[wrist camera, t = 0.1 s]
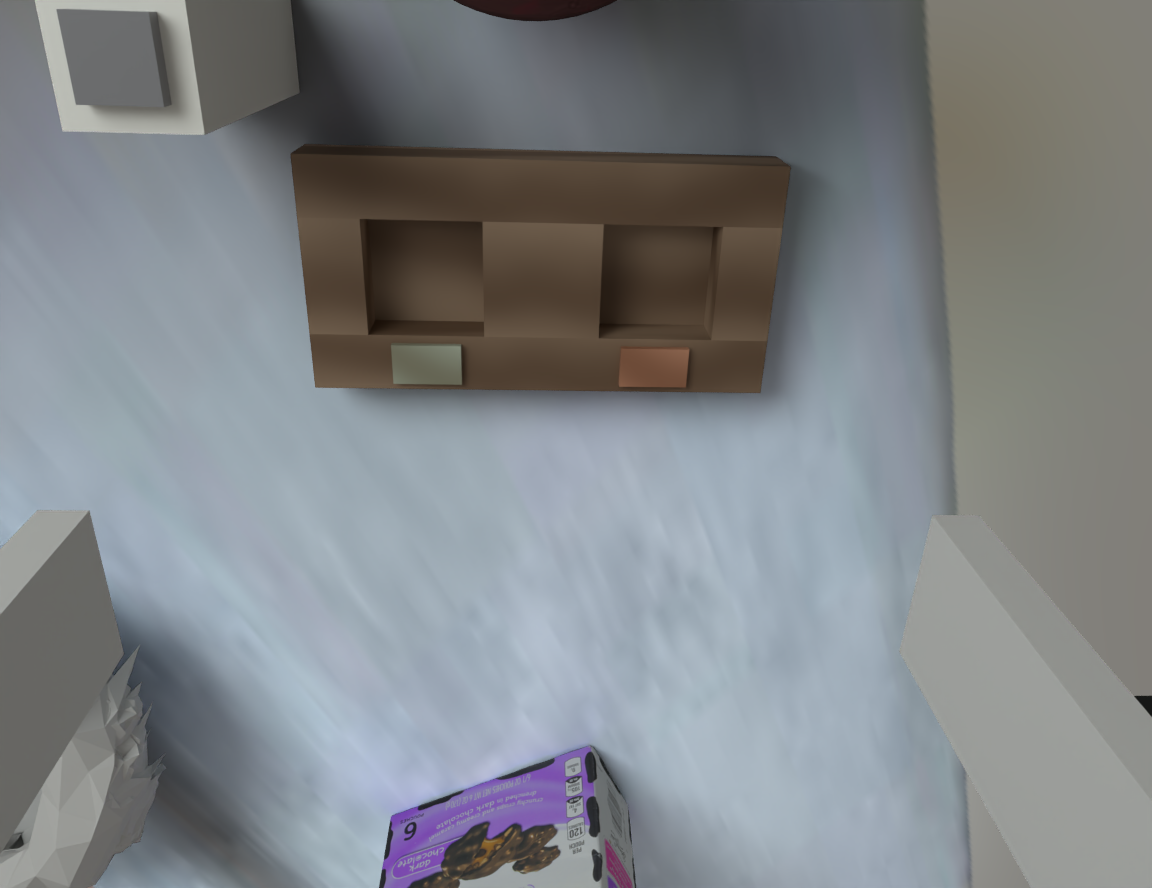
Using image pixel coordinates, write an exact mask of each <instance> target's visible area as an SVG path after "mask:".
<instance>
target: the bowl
mask: <svg viewBox="0 0 1152 888" xmlns="http://www.w3.org/2000/svg"><path fill="white" fill-rule="evenodd" d="M139 647H140V645H139V646H138V647H137V649H136V650H135V651H134V652H133V653H132V655H131V656H130V657H129V658H128V660H127V661H126V662H125V663H124V664H123V666H122V667H121V668H120V669H119V670H118V672H117V673H116V674H115V675H113V674H111V676H110V677H109V679H108V681H107V682H106V684H105V685H104V687H103V689H102V690H101V692H100V694H99V695H98V697H97V698H96V700H95V702H94V703H93V705H92V707H91V708H90V710H89V711H88V713H87V715H86V716H85V718H84V719H83V721H82V723H81V724H80V726H79V728H78V729H77V731H76V732H75V734H74V736H73V737H72V739H71V741H70V742H69V744H68V745H67V747H66V749H65V750H64V752H63V753H62V755H61V757H60V758H59V760H58V762H57V763H56V765H55V766H54V768H53V770H52V771H51V773H50V775H49V776H48V778H47V779H46V781H45V783H44V784H43V786H42V787H41V789H40V791H39V792H38V794H37V796H36V797H35V799H34V800H33V802H32V804H31V805H30V807H29V809H28V810H27V812H26V813H25V815H24V817H23V818H22V820H21V821H20V823H19V825H18V826H17V828H16V830H15V831H14V833H13V834H12V836H11V838H10V839H9V841H8V843H7V844H6V846H5V847H4V849H3V851H2V852H1V854H0V888H87V887H90V886H93V885H95V884H96V883H97V881H98V880H99V878H100V877H101V876H102V874H103V873H104V871H105V870H106V868H107V867H108V865H109V863H110V861H111V859H112V858H113V856H114V854H117V853H121V852H123V851H124V850H125V849H126V848H128V847H129V846H131V844H133V843H136V842H140V840H141V837H142V833H143V829H144V823H145V818H146V815H147V813H148V811H149V809H150V807H151V805H152V803H153V801H154V799H155V796H156V789H157V787H158V785H159V782H158V778H159V776H160V775H161V773H162V771H164V770H165V769H166V767H165V766H164V765H163V764H162V763H161V764H160V765H159V763H160V762H161V760H162V758H163V757H164V755H165V754H163V755H162V756H161V757H160V758H159V759H158V760H157V761H156V762H155V763H154V764H152V765H149V766H148V754H147V737H148V735H149V732H150V730H151V729H150V730H149V732H148V734H146V729H145V724H146V721H147V718H148V715H149V712H150V709H151V706H152V704H151V705H150V707H149V709H148V711H147V712H146V714H145V715H144V716H143V718H142V719H140V718H141V716H142V715H143V713H142V708H143V703H142V701H141V700H140V698H139V696H138V694H139V690H140V687H141V683H142V682H141V683H140V684H139V685H138V686H136V687H135V688H134V689H133V690H132V691H131V688H130V687H129V686H128V685H127V682H128V679H129V677H130V675H131V672H132V670H133V668H134V667H133V664H134V661H135V658H136V655H137V653H138V650H139ZM132 667H133V668H132ZM130 691H131V692H130ZM152 703H153V702H152ZM158 765H159V766H158ZM151 777H152V780H151ZM150 780H151V781H150Z"/></svg>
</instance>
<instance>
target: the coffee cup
mask: <svg viewBox="0 0 1152 888" xmlns="http://www.w3.org/2000/svg"><path fill="white" fill-rule="evenodd" d="M454 1H456V2H458V3H460V4H462V5H464V6H467V7H469V8H471V9H474V10H476V11H479V12H482V13H486V14H489V15H492V16H497V17H501V18H506V19H513V20H521V21H548V20H559V19H564V18H570V17H575V16H579V15H582V14H585V13H588V12H592V11H595V10H597V9H600V8H602V7H604V6H607V5H609V4H611V3H613V2H615V1H617V0H454Z"/></svg>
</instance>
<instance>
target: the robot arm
mask: <svg viewBox="0 0 1152 888" xmlns="http://www.w3.org/2000/svg"><path fill="white" fill-rule="evenodd" d="M899 652H900V654H901V656H902V657H903V659H904V661H905V663H906V665H907V666H908V668H909V670H910V672H911V673H912V675H913V677H914V679H915V681H916V682H917V684H918V686H919V688H920V690H921V691H922V693H923V695H924V697H925V699H926V700H927V702H928V704H929V706H930V708H931V709H932V711H933V713H934V715H935V717H936V718H937V720H938V722H939V724H940V726H941V727H942V729H943V731H944V733H945V734H946V736H947V738H948V740H949V742H950V743H951V745H952V747H953V749H954V751H955V752H956V754H957V756H958V758H959V760H960V761H961V763H962V765H963V767H964V769H965V770H966V772H967V774H968V776H969V778H970V779H971V781H972V783H973V785H974V786H975V788H976V790H977V792H978V794H979V795H980V797H981V799H982V801H983V803H984V804H985V806H986V808H987V810H988V812H989V813H990V815H991V817H992V819H993V820H994V822H995V824H996V826H997V828H998V829H999V831H1000V833H1001V835H1002V837H1003V838H1004V840H1005V842H1006V844H1007V846H1008V847H1009V849H1010V851H1011V853H1012V854H1013V857H1014V858H1015V860H1016V862H1017V863H1018V865H1019V867H1020V869H1021V871H1022V873H1023V874H1024V876H1025V878H1026V880H1027V882H1028V883H1029V885H1030V887H1031V888H1152V696H1133V695H1132V693H1131V692H1130V691H1129V690H1128V689H1127V688H1126V686H1125V685H1124V684H1123V683H1122V682H1121V681H1120V679H1119V678H1118V677H1117V676H1116V675H1115V674H1114V672H1113V671H1112V670H1111V669H1110V668H1109V667H1108V665H1107V664H1106V663H1105V662H1104V661H1103V660H1102V658H1101V657H1100V656H1099V655H1098V654H1097V653H1096V651H1095V650H1094V649H1093V648H1092V647H1091V646H1090V644H1089V643H1088V642H1087V641H1086V640H1085V639H1084V637H1083V636H1082V635H1081V634H1080V633H1079V632H1078V630H1077V629H1076V628H1075V627H1074V626H1073V624H1072V623H1071V622H1070V621H1069V620H1068V619H1067V617H1066V616H1065V615H1064V614H1063V613H1062V612H1061V610H1060V609H1059V608H1058V607H1057V606H1056V605H1055V603H1054V602H1053V601H1052V600H1051V599H1050V598H1049V597H1048V595H1047V594H1046V593H1045V592H1044V591H1043V589H1042V588H1041V587H1040V586H1039V585H1038V584H1037V582H1036V581H1035V580H1034V579H1033V578H1032V577H1031V575H1030V574H1029V573H1028V572H1027V571H1026V570H1025V568H1024V567H1023V566H1022V565H1021V564H1020V563H1019V562H1018V560H1017V559H1016V558H1015V557H1014V556H1013V554H1012V553H1011V552H1010V551H1009V550H1008V549H1007V547H1006V546H1005V545H1004V544H1003V543H1002V541H1001V540H1000V539H999V538H998V537H997V536H996V535H995V533H994V532H993V531H992V530H991V529H990V528H989V526H988V525H987V524H986V523H985V522H984V520H983V519H982V518H981V517H980V516H979V515H932V519H931V523H930V528H929V532H928V536H927V540H926V544H925V548H924V552H923V556H922V560H921V565H920V569H919V573H918V577H917V581H916V585H915V589H914V593H913V597H912V601H911V606H910V610H909V614H908V618H907V622H906V626H905V630H904V634H903V638H902V643H901V647H900V651H899ZM123 655H124V652H123V647H122V643H121V639H120V635H119V631H118V627H117V623H116V619H115V615H114V610H113V606H112V602H111V598H110V594H109V590H108V586H107V582H106V578H105V573H104V569H103V565H102V561H101V557H100V553H99V549H98V545H97V540H96V536H95V532H94V528H93V524H92V520H91V516H90V512H89V511H62V510H37V511H36V512H35V513H34V514H33V515H32V517H31V518H30V519H29V520H28V521H27V522H26V523H25V524H24V525H23V526H22V527H21V528H20V529H19V530H18V531H17V532H16V533H15V534H14V535H13V536H12V537H11V538H10V540H9V541H8V542H7V543H6V544H5V545H4V546H3V547H2V548H1V549H0V854H1V852H2V851H3V849H4V847H5V846H6V844H7V843H8V841H9V839H10V838H11V836H12V834H13V833H14V831H15V830H16V828H17V826H18V825H19V823H20V821H21V820H22V818H23V817H24V815H25V813H26V812H27V810H28V809H29V807H30V805H31V804H32V802H33V800H34V799H35V797H36V796H37V794H38V792H39V791H40V789H41V787H42V786H43V784H44V783H45V781H46V779H47V778H48V776H49V775H50V773H51V771H52V770H53V768H54V766H55V765H56V763H57V762H58V760H59V758H60V757H61V755H62V753H63V752H64V750H65V749H66V747H67V745H68V744H69V742H70V741H71V739H72V737H73V736H74V734H75V732H76V731H77V729H78V728H79V726H80V724H81V723H82V721H83V719H84V718H85V716H86V715H87V713H88V711H89V710H90V708H91V707H92V705H93V703H94V702H95V700H96V698H97V697H98V695H99V694H100V692H101V690H102V689H103V687H104V685H105V684H106V682H107V681H108V679H109V677H110V676H111V674H112V673H113V671H114V669H115V668H116V666H117V664H118V663H119V661H120V660H121V658H122V656H123Z"/></svg>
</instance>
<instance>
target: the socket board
mask: <svg viewBox="0 0 1152 888" xmlns="http://www.w3.org/2000/svg"><path fill="white" fill-rule="evenodd" d="M291 164H292V173H293V183H294V192H295V201H296V211H297V220H298V229H299V239H300V248H301V258H302V267H303V276H304V286H305V295H306V305H307V314H308V323H309V333H310V342H311V351H312V361H313V370H314V380H315V387H318V388H400V389H482V390H563V391H645V392H727V393H760V391H761V384H762V376H763V369H764V362H765V354H766V347H767V339H768V332H769V325H770V317H771V310H772V302H773V295H774V288H775V280H776V273H777V265H778V258H779V251H780V243H781V236H782V228H783V221H784V214H785V206H786V199H787V191H788V184H789V177H790V169H791V166H789V165H788V164H786V163H785V162H783V161H782V160H780V159H779V158H777V157H776V156H740V155H702V154H664V153H626V152H588V151H550V150H513V149H475V148H437V147H399V146H361V145H323V144H304V145H303V146H301V147H300V148H298V149H297V150H295V151H294V152H292V153H291Z"/></svg>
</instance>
